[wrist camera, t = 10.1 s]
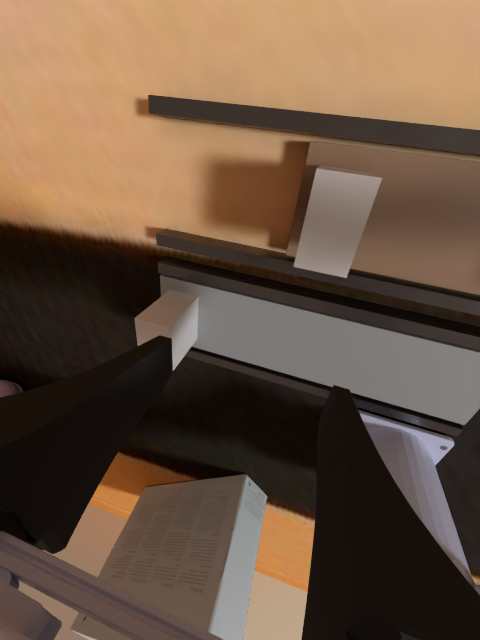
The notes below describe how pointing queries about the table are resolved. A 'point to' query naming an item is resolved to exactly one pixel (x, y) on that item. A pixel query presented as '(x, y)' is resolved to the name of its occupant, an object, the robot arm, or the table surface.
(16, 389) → the headphones
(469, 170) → the strip
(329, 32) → the table surface
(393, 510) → the robot arm
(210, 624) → the skincare box
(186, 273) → the lane rails
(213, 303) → the strip
